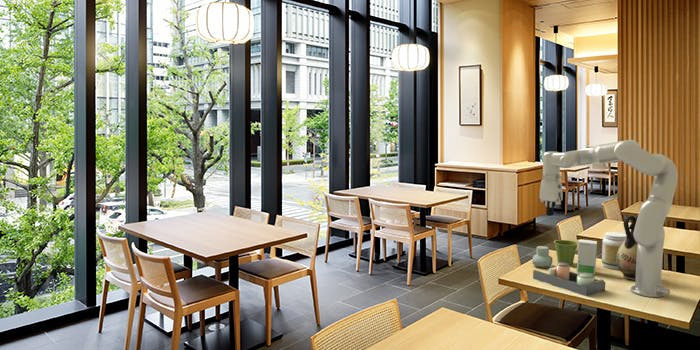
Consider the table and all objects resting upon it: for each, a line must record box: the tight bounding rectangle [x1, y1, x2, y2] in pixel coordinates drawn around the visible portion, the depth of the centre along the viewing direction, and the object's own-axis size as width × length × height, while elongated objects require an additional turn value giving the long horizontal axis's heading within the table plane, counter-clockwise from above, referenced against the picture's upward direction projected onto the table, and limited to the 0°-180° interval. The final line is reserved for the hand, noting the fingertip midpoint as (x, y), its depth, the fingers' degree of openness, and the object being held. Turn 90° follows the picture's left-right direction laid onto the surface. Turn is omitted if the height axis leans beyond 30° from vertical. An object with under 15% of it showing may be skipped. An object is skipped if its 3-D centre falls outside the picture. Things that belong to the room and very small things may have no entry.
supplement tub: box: [601, 231, 627, 271], centre depth 252 cm, size 12×12×17 cm
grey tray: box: [532, 265, 606, 297], centre depth 227 cm, size 28×13×5 cm, turn 30°
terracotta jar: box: [555, 262, 571, 280], centre depth 230 cm, size 6×6×9 cm
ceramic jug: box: [616, 214, 638, 281], centre depth 234 cm, size 17×15×30 cm
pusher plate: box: [548, 266, 557, 276], centre depth 234 cm, size 5×10×6 cm, turn 120°
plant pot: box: [553, 239, 579, 266], centre depth 260 cm, size 12×12×11 cm
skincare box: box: [576, 239, 598, 276], centre depth 244 cm, size 8×7×16 cm
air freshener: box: [531, 245, 554, 269], centre depth 255 cm, size 11×8×10 cm
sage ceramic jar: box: [577, 273, 596, 286], centre depth 220 cm, size 7×7×7 cm
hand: (549, 215), depth 240 cm, fingers closed
